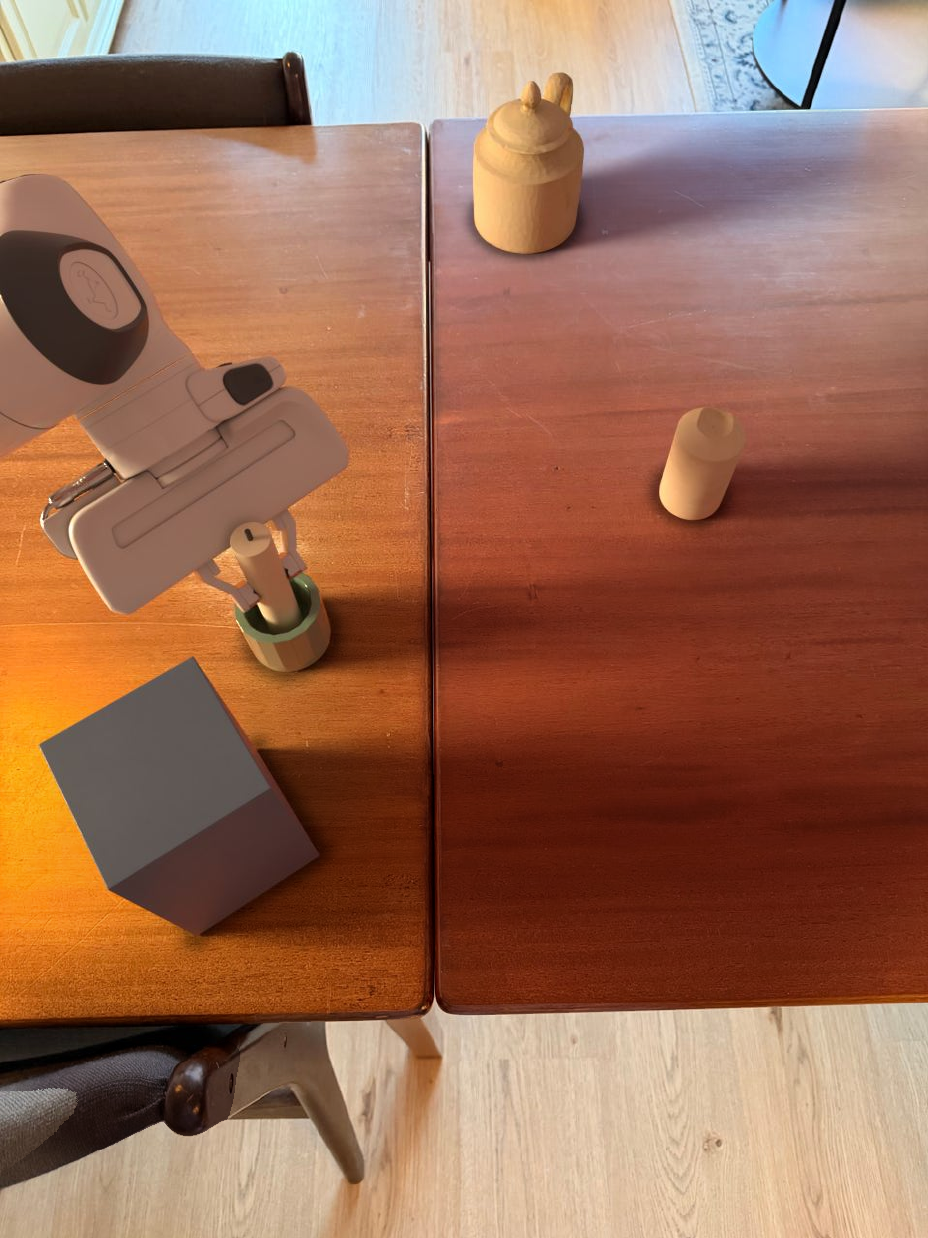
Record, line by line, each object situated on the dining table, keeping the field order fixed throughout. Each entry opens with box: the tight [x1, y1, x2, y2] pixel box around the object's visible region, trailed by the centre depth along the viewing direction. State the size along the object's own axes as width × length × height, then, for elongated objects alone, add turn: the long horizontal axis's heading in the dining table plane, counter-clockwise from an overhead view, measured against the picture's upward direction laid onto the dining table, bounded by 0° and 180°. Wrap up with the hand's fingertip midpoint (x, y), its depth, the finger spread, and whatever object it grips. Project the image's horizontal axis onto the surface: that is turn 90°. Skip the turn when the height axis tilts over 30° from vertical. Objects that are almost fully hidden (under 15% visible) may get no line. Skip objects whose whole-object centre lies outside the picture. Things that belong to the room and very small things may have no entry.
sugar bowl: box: [472, 71, 585, 255], centre depth 91 cm, size 15×11×15 cm
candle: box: [659, 406, 747, 521], centre depth 76 cm, size 6×6×10 cm
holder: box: [233, 572, 332, 673], centre depth 72 cm, size 7×7×6 cm
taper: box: [230, 522, 304, 635], centre depth 67 cm, size 3×3×15 cm
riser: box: [38, 656, 320, 937], centre depth 59 cm, size 10×10×17 cm
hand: (275, 589), depth 67 cm, fingers closed on taper, 3 cm apart
